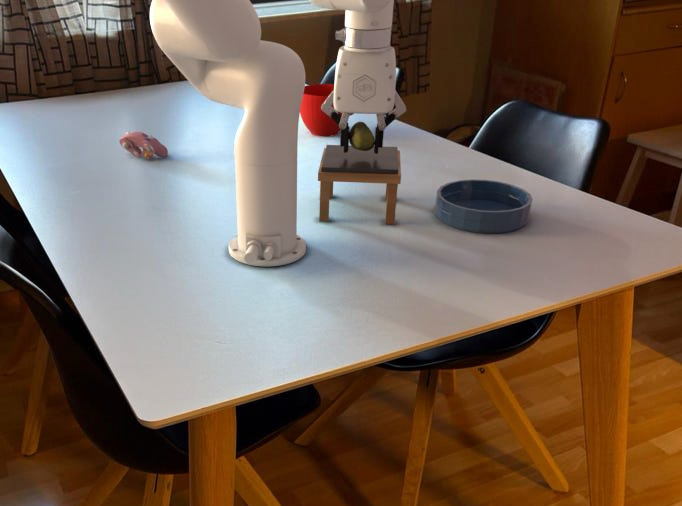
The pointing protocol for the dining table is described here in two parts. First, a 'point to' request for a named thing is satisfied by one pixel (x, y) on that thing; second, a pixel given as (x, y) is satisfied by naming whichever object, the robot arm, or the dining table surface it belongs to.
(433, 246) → the dining table surface
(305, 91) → the ceramic cup
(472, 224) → the bowl
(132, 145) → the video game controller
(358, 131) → the lime
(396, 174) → the stool
